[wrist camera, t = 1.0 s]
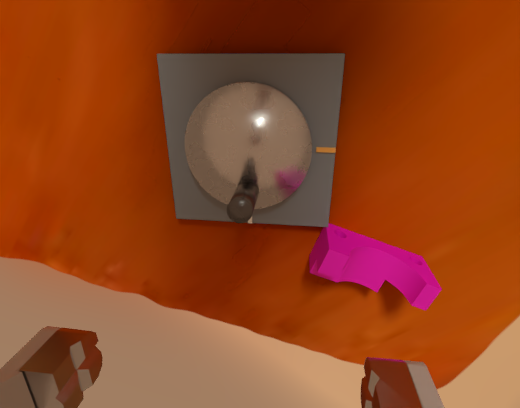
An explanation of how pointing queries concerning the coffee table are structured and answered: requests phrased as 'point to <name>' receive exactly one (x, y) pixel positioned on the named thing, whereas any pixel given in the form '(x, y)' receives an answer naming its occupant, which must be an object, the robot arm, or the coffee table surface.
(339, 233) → the toy block
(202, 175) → the dial
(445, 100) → the coffee table surface
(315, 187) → the dial plate
